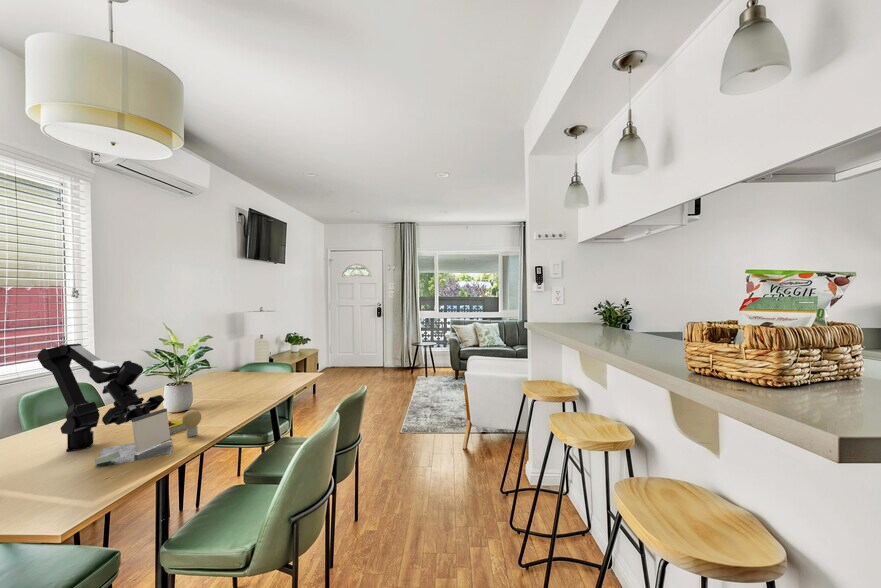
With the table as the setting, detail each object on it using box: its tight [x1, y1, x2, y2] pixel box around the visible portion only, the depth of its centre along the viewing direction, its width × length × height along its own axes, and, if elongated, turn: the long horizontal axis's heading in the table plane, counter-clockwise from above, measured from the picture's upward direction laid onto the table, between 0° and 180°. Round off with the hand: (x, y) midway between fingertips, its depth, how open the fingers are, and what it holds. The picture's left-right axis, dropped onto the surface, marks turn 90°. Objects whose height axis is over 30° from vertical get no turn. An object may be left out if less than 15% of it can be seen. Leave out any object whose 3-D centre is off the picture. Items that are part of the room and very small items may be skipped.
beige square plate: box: [130, 408, 170, 452], centre depth 138 cm, size 1×12×11 cm, turn 168°
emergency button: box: [168, 419, 187, 435], centre depth 162 cm, size 9×4×15 cm
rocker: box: [93, 451, 120, 465], centre depth 129 cm, size 5×4×2 cm
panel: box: [94, 434, 173, 469], centre depth 139 cm, size 20×20×2 cm
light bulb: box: [181, 409, 202, 438], centre depth 156 cm, size 6×6×10 cm
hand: (149, 427), depth 139 cm, fingers closed, pressing on beige square plate
